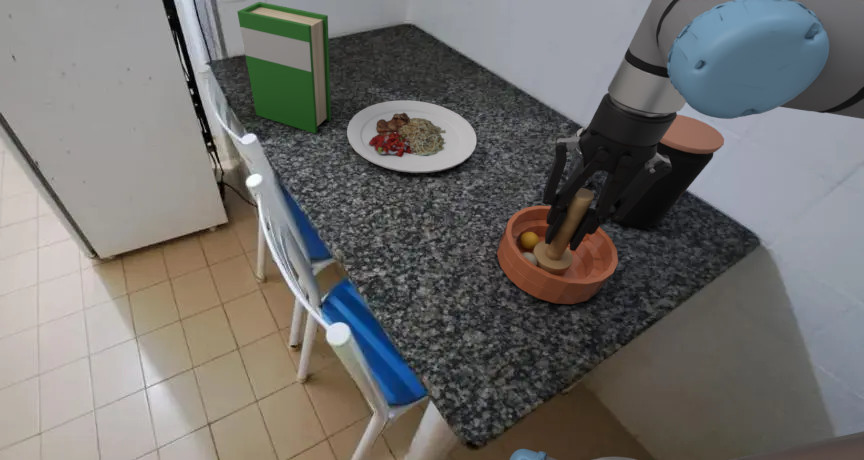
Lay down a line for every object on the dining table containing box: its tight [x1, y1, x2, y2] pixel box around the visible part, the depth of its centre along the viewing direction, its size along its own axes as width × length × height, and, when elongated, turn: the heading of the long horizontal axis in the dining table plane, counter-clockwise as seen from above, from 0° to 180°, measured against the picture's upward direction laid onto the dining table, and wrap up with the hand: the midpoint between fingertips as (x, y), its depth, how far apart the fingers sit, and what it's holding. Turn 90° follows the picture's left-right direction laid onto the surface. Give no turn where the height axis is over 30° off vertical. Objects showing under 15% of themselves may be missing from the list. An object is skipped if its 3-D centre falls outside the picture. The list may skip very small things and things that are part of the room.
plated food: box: [346, 99, 478, 174], centre depth 91 cm, size 30×30×3 cm
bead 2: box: [522, 252, 537, 266], centre depth 64 cm, size 3×3×3 cm
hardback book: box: [236, 1, 332, 135], centre depth 90 cm, size 18×7×24 cm, turn 62°
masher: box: [532, 187, 595, 274], centre depth 60 cm, size 6×6×15 cm
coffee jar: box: [611, 114, 725, 229], centre depth 69 cm, size 11×11×18 cm
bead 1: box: [520, 232, 539, 249], centre depth 67 cm, size 3×3×3 cm
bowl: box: [496, 205, 619, 305], centre depth 64 cm, size 17×17×6 cm
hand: (560, 241), depth 61 cm, fingers closed on masher, 3 cm apart
